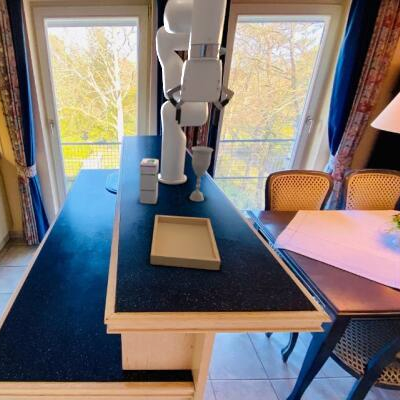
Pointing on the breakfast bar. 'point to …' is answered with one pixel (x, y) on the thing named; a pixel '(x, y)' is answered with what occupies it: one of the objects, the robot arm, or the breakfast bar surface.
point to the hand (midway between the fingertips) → (196, 123)
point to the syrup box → (149, 181)
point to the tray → (184, 243)
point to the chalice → (200, 167)
